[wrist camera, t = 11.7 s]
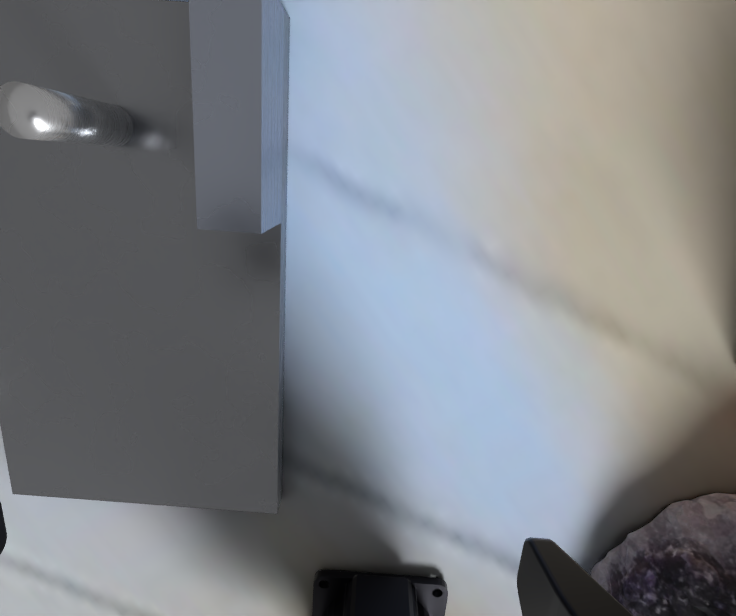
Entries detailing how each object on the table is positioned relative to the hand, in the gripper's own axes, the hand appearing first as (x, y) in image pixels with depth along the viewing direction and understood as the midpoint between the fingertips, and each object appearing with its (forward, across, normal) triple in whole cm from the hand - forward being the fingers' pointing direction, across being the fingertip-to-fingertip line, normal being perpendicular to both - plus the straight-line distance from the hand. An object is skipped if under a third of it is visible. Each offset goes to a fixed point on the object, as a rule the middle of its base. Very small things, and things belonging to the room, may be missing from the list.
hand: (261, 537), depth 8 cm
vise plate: (+12, +8, -1) cm, 14 cm away
